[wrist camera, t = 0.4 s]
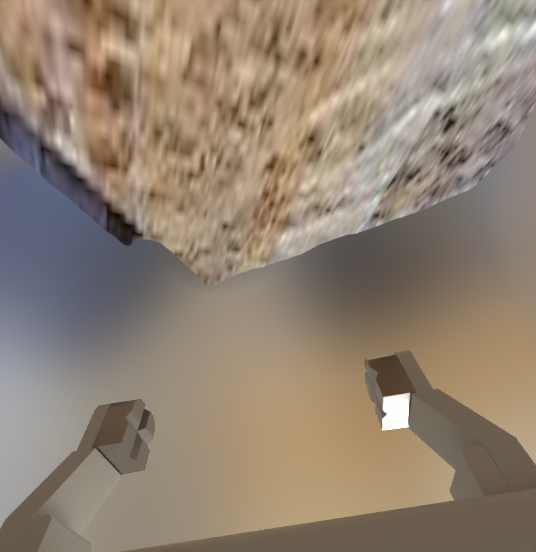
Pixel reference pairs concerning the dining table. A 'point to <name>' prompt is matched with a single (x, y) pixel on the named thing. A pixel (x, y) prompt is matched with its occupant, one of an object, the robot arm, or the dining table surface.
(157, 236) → the dining table surface
